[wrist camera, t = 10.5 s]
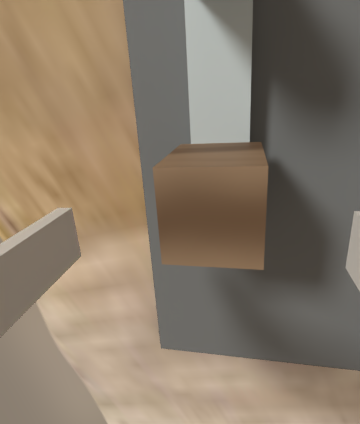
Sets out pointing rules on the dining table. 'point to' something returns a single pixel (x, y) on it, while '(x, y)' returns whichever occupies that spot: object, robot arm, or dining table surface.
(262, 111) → the mat
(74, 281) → the dining table surface
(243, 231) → the block
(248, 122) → the grey stepped bracket
